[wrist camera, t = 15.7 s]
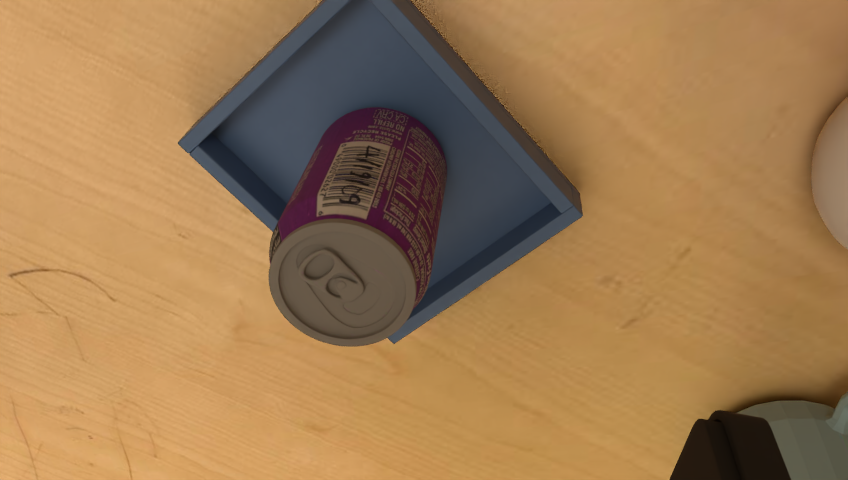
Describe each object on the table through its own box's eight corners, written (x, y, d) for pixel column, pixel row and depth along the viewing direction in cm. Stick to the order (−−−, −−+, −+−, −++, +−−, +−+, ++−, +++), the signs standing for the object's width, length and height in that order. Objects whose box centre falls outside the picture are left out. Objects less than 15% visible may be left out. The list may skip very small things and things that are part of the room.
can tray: (193, 124, 44) (176, 143, 42) (370, -46, 38) (361, -35, 36) (399, 318, 49) (393, 344, 47) (580, 193, 44) (583, 216, 42)
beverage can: (291, 161, 44) (223, 282, 33) (378, 74, 41) (333, 178, 30) (386, 243, 46) (349, 381, 36) (475, 166, 43) (463, 292, 33)
